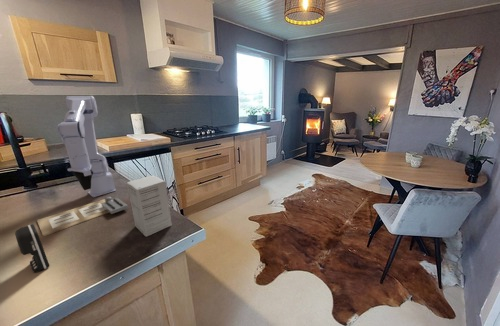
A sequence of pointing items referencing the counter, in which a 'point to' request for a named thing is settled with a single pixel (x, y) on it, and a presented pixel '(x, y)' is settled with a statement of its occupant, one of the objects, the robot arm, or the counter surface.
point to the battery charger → (32, 247)
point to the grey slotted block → (114, 205)
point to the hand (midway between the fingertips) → (87, 189)
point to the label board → (71, 217)
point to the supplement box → (149, 204)
